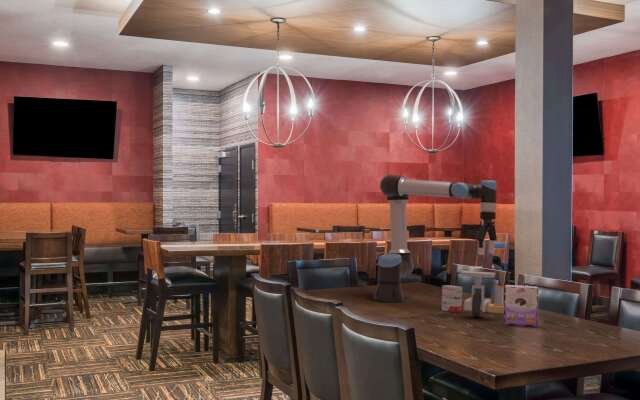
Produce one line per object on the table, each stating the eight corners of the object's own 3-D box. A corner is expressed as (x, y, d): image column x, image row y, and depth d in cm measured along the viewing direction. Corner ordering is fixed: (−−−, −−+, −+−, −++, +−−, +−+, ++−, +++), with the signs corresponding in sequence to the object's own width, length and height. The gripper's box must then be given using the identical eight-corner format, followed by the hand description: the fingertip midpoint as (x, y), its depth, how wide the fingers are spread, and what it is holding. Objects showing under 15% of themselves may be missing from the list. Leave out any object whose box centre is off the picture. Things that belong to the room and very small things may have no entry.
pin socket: (487, 312, 325) (487, 305, 325) (490, 309, 333) (490, 303, 333) (506, 313, 321) (507, 307, 321) (509, 311, 329) (509, 305, 329)
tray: (484, 312, 324) (485, 303, 324) (463, 310, 328) (463, 301, 328) (490, 307, 339) (490, 299, 339) (470, 306, 343) (470, 297, 343)
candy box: (537, 325, 293) (539, 286, 293) (537, 327, 287) (538, 287, 287) (504, 322, 297) (505, 284, 297) (503, 324, 292) (504, 285, 292)
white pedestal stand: (459, 317, 307) (460, 272, 307) (463, 313, 317) (465, 270, 317) (491, 320, 301) (492, 274, 301) (494, 316, 311) (496, 272, 311)
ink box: (462, 311, 323) (462, 286, 323) (455, 312, 320) (456, 287, 320) (447, 309, 330) (448, 284, 330) (441, 310, 327) (441, 285, 327)
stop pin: (494, 311, 326) (494, 286, 326) (495, 310, 329) (496, 285, 329) (501, 312, 325) (502, 287, 325) (503, 311, 328) (503, 286, 328)
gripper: (485, 211, 331) (484, 255, 331) (504, 211, 352) (502, 253, 352) (471, 210, 336) (469, 254, 335) (489, 211, 356) (488, 252, 356)
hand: (486, 254), depth 344 cm, fingers open, 13 cm apart
